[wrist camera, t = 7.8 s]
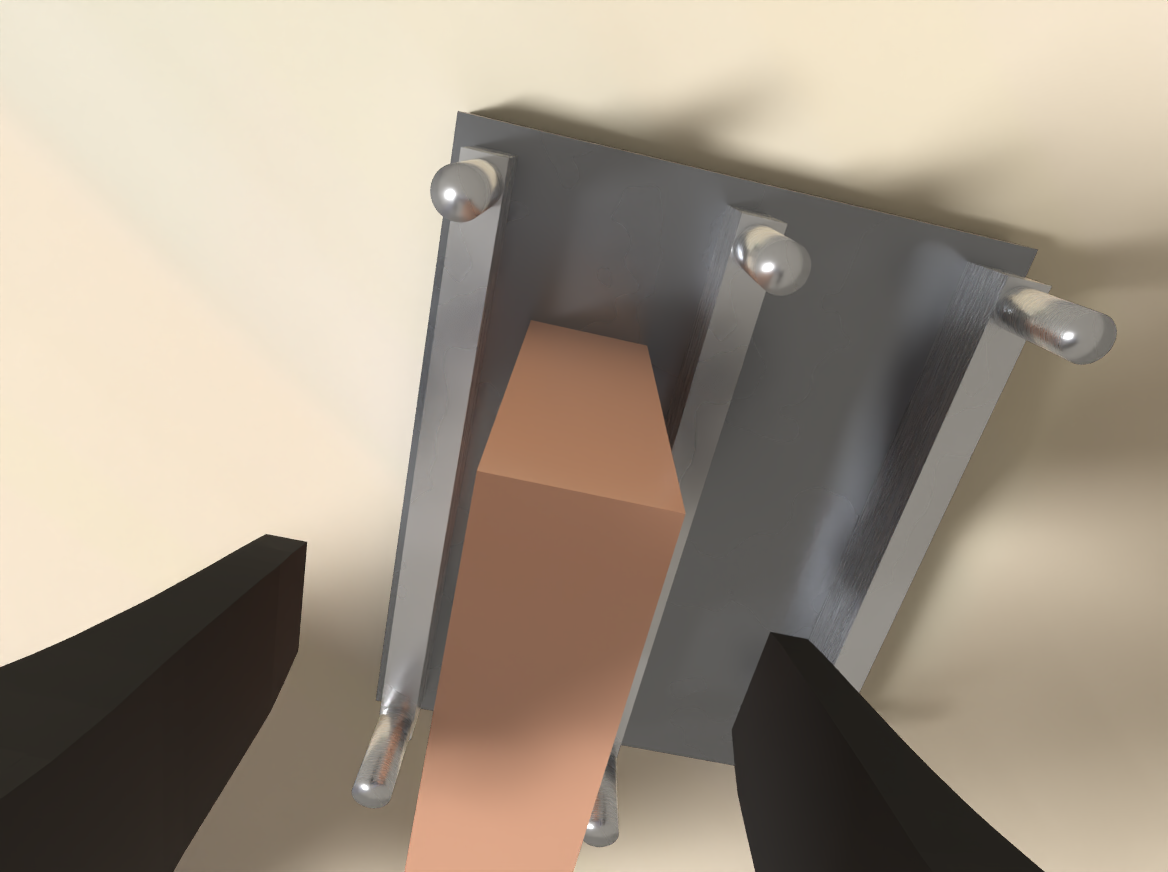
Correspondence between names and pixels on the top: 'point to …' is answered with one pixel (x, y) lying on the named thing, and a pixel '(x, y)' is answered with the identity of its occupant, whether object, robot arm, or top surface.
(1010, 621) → the top surface
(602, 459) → the peach brick
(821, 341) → the pegged metal rack
